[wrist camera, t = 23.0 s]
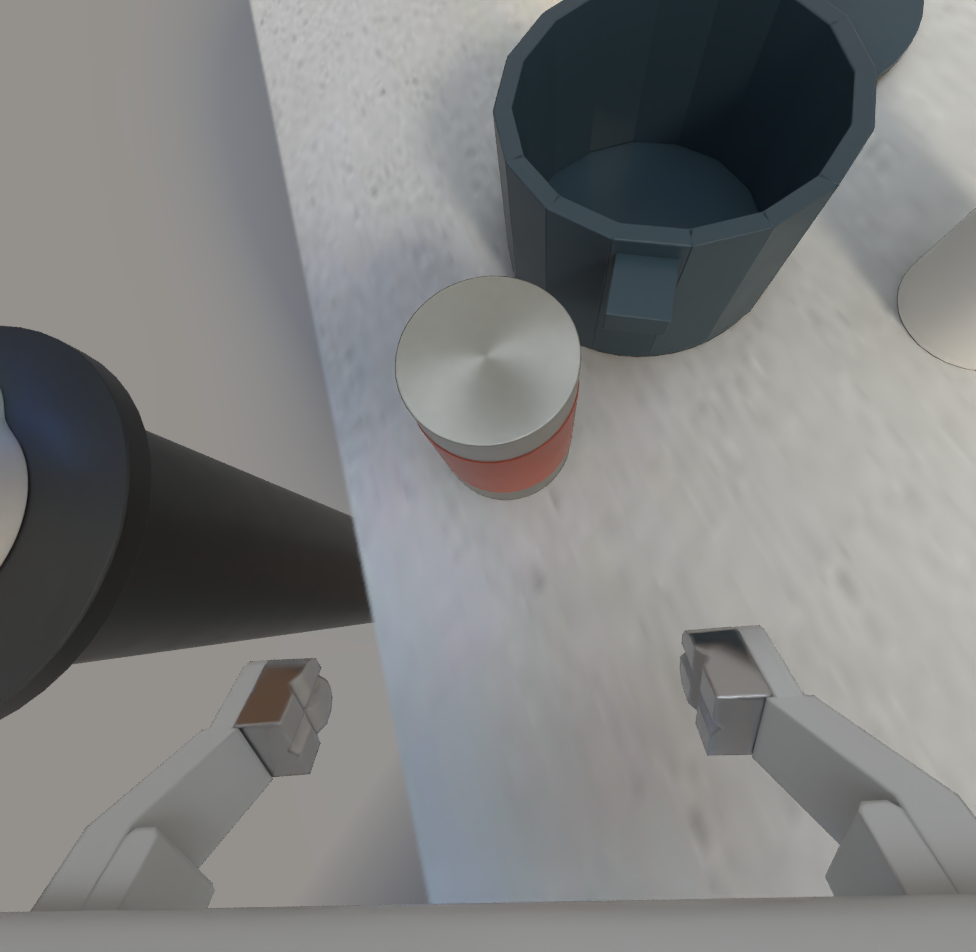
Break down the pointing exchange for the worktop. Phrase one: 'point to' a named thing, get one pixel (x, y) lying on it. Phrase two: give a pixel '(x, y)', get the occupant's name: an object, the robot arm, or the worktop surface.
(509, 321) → the can
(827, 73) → the pot
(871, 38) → the pot lid
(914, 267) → the cylindrical container
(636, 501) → the worktop surface
